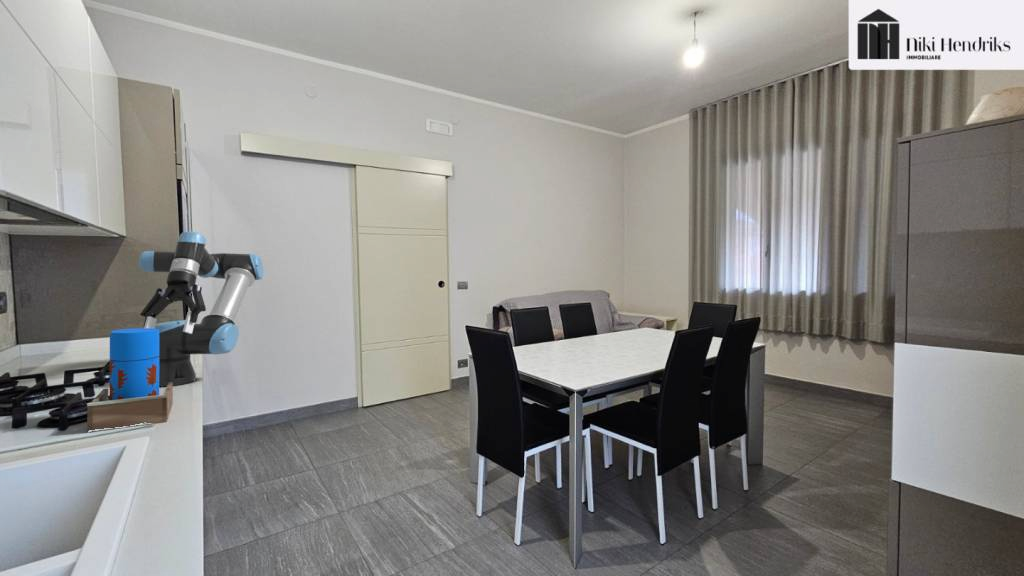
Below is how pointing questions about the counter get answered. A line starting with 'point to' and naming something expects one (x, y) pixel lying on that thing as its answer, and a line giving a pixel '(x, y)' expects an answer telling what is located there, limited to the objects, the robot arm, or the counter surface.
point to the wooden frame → (128, 410)
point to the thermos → (134, 363)
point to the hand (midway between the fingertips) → (166, 334)
